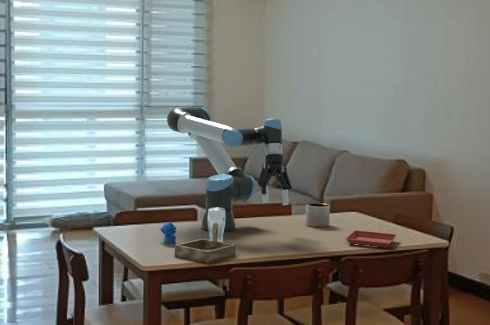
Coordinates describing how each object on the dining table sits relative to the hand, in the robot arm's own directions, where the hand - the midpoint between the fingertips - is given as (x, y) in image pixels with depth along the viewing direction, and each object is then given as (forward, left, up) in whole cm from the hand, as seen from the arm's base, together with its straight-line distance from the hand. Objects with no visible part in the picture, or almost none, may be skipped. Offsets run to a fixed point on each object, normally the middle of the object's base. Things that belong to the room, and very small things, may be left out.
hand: (275, 203), depth 322 cm
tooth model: (-4, -35, -14) cm, 38 cm away
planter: (+1, +33, -14) cm, 36 cm away
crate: (+3, -50, -14) cm, 52 cm away
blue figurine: (-23, -41, -14) cm, 49 cm away
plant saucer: (+38, +15, -14) cm, 43 cm away
